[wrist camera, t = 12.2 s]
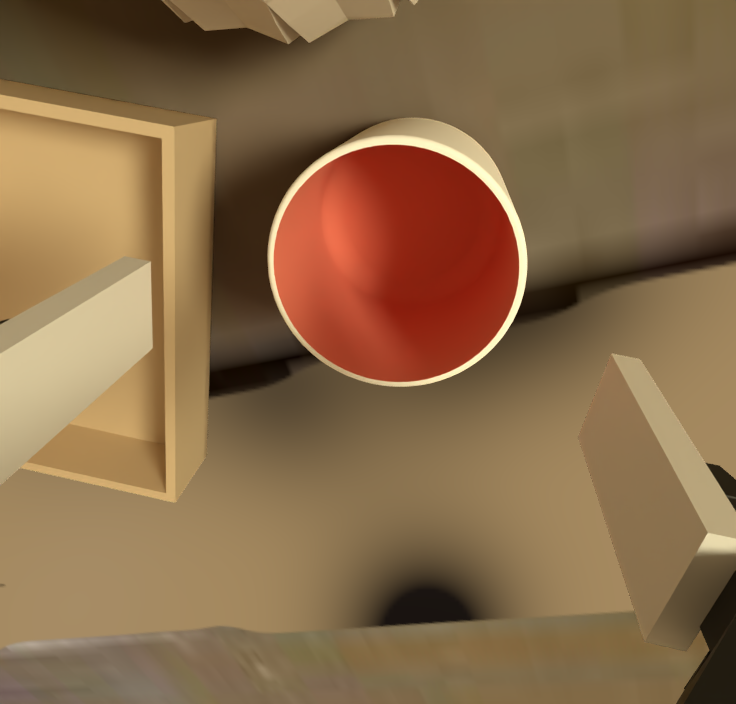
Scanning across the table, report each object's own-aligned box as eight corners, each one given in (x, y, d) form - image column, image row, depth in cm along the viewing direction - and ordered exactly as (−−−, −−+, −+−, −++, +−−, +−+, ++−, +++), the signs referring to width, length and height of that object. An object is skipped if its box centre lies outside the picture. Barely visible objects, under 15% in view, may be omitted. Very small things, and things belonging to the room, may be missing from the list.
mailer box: (-69, 66, 31) (-157, 65, 26) (216, 118, 30) (174, 126, 25) (-7, 409, 41) (-64, 450, 36) (206, 456, 40) (175, 504, 36)
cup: (502, 302, 32) (519, 391, 23) (329, 302, 34) (282, 385, 25) (512, 110, 28) (537, 128, 19) (312, 120, 29) (248, 141, 20)
